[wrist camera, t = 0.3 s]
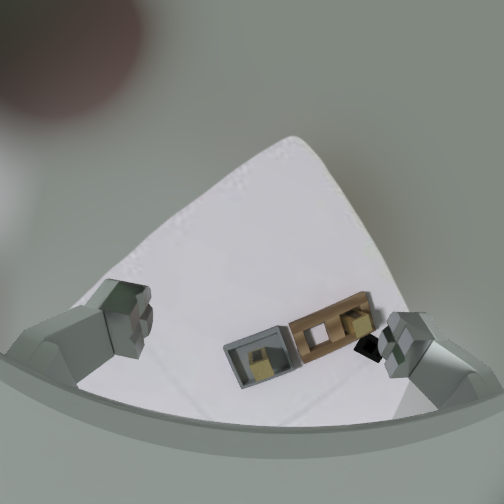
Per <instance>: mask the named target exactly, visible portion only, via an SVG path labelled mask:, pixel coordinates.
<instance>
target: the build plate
mask: <svg viewBox="0 0 504 504" xmlns="http://www.w3.org/2000/svg"><path fill="white" fill-rule="evenodd" d="M378 340H379V339H378V338H377V337H375V336H373V335H372V334H368V335H366V336H364V337H362V338H360V339H359V341H358V343H357V344H356V346H355V348H354V351H356V352H358V353H360V354H362V355H364V356H366V357H368V358H369V359H371V360H373V361H375V362H377V363H379V362H380V360H381V359H382V358H383V357H382V356H381V355H380V353H379V350H378Z"/></svg>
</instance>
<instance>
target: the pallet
mask: <svg viewBox="0 0 504 504" xmlns="http://www.w3.org/2000/svg"><path fill="white" fill-rule="evenodd" d="M355 307H357V309H358V310H360V311H362V312H365V313H367V314H368V315H369V319H370V322H371V326H372V331H370V332H368V333H366V334H364V335H362V336H360V337H358V338H356V337H355V336H353V335H352V334H350V333H349V332H347V331H346V332H344V329H343V326H342V323H341V320H340V317H339V315H340V314H342V313H345V312H347V311H349V310H351V309H353V308H355ZM323 322H324V325H325V328H326V331H327V334H328V337H329V340H327V341H325V342H322V343H320V344H318V345H316V346H313V347H311V348H309V347H308V344H307V341H306V338H305V336H304V333H303V331H304V330H306V329H309V328H311V327H313V326H316V325H318V324H320V323H323ZM288 324H289V326H290V329H291V332H292V334H293V337H294V340H295V343H296V345H297V348H298V351H299V353H300V356H301V359H302V361H303V363H304V364H305V363H308V362H310V361H312V360H315V359H317V358H319V357H322V356H324V355H326V354H328V353H331V352H333V351H335V350H337V349H339V348H341V347H343V346H346V345H348V344H350V343H352V342H354V341H356V340H358V339H360V338H362V337H364V336H366V335H368V334H370V333H372V332H373V331H375V330H376V329H375V325H374V321H373V318H372V314H371V311H370V307H369V304H368V300H367V297H366V293H364V292H359V293H357V294H355V295H352V296H350V297H348V298H346V299H344V300H342V301H339V302H337V303H335V304H333V305H330V306H328V307H326V308H324V309H321V310H319V311H317V312H314V313H312V314H310V315H307V316H305V317H303V318H300V319H298V320H295V321H293V322H290V323H288Z"/></svg>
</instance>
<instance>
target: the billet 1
mask: <svg viewBox="0 0 504 504" xmlns="http://www.w3.org/2000/svg"><path fill="white" fill-rule="evenodd" d="M248 359H249V366H250V369H251V371H252V373H253V375H254V378H255V380H256V382H257V381H260V380H263V379H266V378H268V377H271V376H274V375H275V374H274V371H273V368H272V365H271V362H270V360H269V357H268V355H267V352H266V350H265V347H262V348H260V349H257V350H254V351H251V352H249V353H248Z"/></svg>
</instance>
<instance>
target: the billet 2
mask: <svg viewBox="0 0 504 504" xmlns="http://www.w3.org/2000/svg"><path fill="white" fill-rule="evenodd" d="M340 319H341V322H342V325H343V328H344V330H346V331H347V332H349V333H350V334H352V335H353V336H355V337H356V338H358V337H360V336H362V335H364V334H366V333H368V332H370V331H372V326H371V322H370V319H369V315H368V314H367V313H365V312H362V311H360V310H358V309H355V308H353V309H351V310H349V311H347V312H345V313H342V314H340Z"/></svg>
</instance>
